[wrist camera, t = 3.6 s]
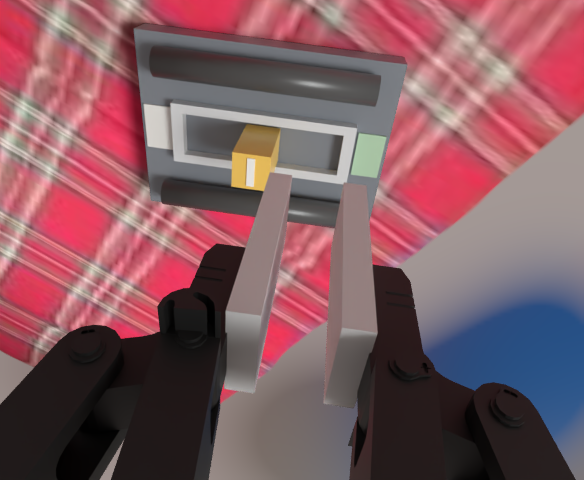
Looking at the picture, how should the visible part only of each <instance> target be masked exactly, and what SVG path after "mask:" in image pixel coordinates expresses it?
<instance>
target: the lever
mask: <svg viewBox="0 0 584 480" xmlns="http://www.w3.org/2000/svg"><path fill="white" fill-rule="evenodd" d="M280 130H281V129H280V128H273V127H266V126H258V125H251V124H246V126H245V128H244V130H243V132H242V134H241V136H240V138H239V140H238V142H237V144H236V146H235V148H234V150H233V152H232V183H231V187H238V188H245V189H252V190H260V191H264V189H265V186H266V183H267V180H268V177H269V173H270V172H273V173H274V171H275V168H276V164H277V161H278V153H279V142H280Z"/></svg>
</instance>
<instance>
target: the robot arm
mask: <svg viewBox="0 0 584 480" xmlns="http://www.w3.org/2000/svg"><path fill="white" fill-rule="evenodd" d="M291 183H292V175H287V174H280V173H273V172H270V173H269V177H268V180H267V183H266V186H265V189H264V192H263V195H262V199H261V202H260V205H259V208H258V211H257V214H256V217H255V220H254V224H253V227H252V230H251V233H250V236H249V239H248V242H247V246H246V248H245V247H238V246H231V245H224V244H216V245H214V246H213V247H212V248H211V249H209V250H208V251H207V252H206V253H205V254H204V257H203V259H202V261H201V263H200V266H199V268H198V270H197V272H196V275H195V278H194V279H193V282H192V284H191V286H190V288H183V289H180V290H177V291H174V292H171V293H170V294H168V295H167V296H166V297H164V298H163V299H162V300H161V302H160V303H159V305H158V306H157V307H158V316H159V325H160V332H157V333H155V334H152V335H147V336H142V337H133V338H125V339H121V338H120V337H119V335H118V334H117V332H116V331H115V330H113V329H111V328H109V327H107V326H101V325H91V326H84V327H81V328H78V329H76V330H74V331H71V332H69V333H68V334H67V335H66V336H64V337H63V338H62V339H61V340H59V341H58V342H57V344H56V345H55V346H54V347H53V348H52V349H51V350H50V351H49V352H48V353H47V354H46V355H45V357H44V358H43V359H42V360H41V361H40V362H39V363H38V364H37V365H36V366H35V367H34V369H33V370H32V371H31V372H30V373H29V374H28V375H27V376H26V377H25V378H24V379H23V381H21V383H20V384H19V385H18V386H17V387H16V388H15V389H14V390H13V391H12V392H11V394H10V395H9V396H8V397H7V398H6V399H5V400H4V401H3V402H2V403H1V404H0V480H100V478H101V476H102V475H103V473H104V471H105V470H106V468H107V466H108V465H109V463H110V461H111V460H112V458H113V457H114V455H115V453H116V451H117V450H118V448H119V447H120V445H121V444H122V442H123V440H124V442H123V446H122V448H121V451H120V454H119V457H118V460H117V463H116V466H115V469H114V472H113V475H112V478H111V480H208V479H209V473H210V467H211V460H212V455H213V448H214V442H215V436H216V430H217V424H218V418H219V411H220V395H221V391H222V387H223V384H224V389H229V390H235V391H242V392H249V393H255V388H256V383H257V378H258V373H259V368H260V363H261V358H262V353H263V348H264V343H265V338H266V333H267V328H268V323H269V318H270V313H271V308H272V303H273V298H274V293H275V288H276V283H277V278H278V273H279V268H280V263H281V258H282V253H283V248H284V243H285V236H286V227H287V218H288V209H289V201H290V192H291ZM414 308H415V305H414V299H413V293H412V288H411V282H410V280H409V279H408V278H407V276H406V275H405V274H404V272H403V271H402V269H400V268H393V267H386V266H379V265H372V252H371V239H370V226H369V213H368V199H367V186H366V185H359V184H352V183H345V182H344V184H343V189H342V194H341V200H340V205H339V210H338V215H337V220H336V226H335V231H334V236H333V241H332V247H331V264H330V284H329V304H328V326H327V344H326V364H325V365H326V366H325V385H324V404H328V405H335V406H342V407H348V408H354V406H355V403H356V400H357V398H358V417H357V420H356V423H355V426H354V429H353V432H352V435H351V438H350V441H349V444H348V446H352V456H351V467H350V479H349V480H576V479H575V478H574V476H573V474H572V472H571V470H570V469H569V467H568V465H567V463H566V461H565V460H564V458H563V456H562V454H561V452H560V451H559V449H558V447H557V445H556V443H555V442H554V440H553V438H552V436H551V434H550V433H549V431H548V429H547V427H546V425H545V424H544V422H543V420H542V418H541V416H540V414H539V413H538V411H537V410H536V408H535V407H534V405H533V404H532V403H531V401H530V400H529V399H528V398H526V397H525V396H524V395H523V394H521V393H520V392H519V391H518V390H516V389H513V388H511V387H509V386H507V385H504V384H499V383H487V384H483V385H481V386H480V387H479V388H478V389H476V391H474V390H472V389H469V388H467V387H464V386H462V385H460V384H457V383H455V382H453V381H451V380H449V379H447V378H445V377H443V376H442V375H441V374H439V373H438V372H437V371H436V370H435V368H434V365H433V363H432V362H431V361H430V360H429V358H428V357H427V356H426V355H425V354H424V353H423V349H422V344H421V338H420V332H419V327H418V321H417V316H416V310H415V309H414ZM224 380H225V382H224Z"/></svg>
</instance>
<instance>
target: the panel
mask: <svg viewBox="0 0 584 480" xmlns="http://www.w3.org/2000/svg"><path fill="white" fill-rule="evenodd" d="M134 38H135V48H136V58H137V68H138V78H139V87H140V97H141V107H142V117H143V127H144V137H145V147H146V157H147V167H148V176H149V186H150V196H151V200H152V201H159V202H162V204H167V205H174V206H181V207H188V208H195V209H202V210H209V211H216V212H223V213H230V214H238V215H245V216H252V217H256V214H257V211H258V208H259V205H260V202H261V199H262V195H263V192H264V191H260V190H252V189H245V188H238V187H231V183H232V152H233V150H234V148H235V146H236V144H237V142H238V140H239V138H240V136H241V134H242V132H243V130H244V128H245V126H246V124H251V125H258V126H266V127H273V128H280V129H281V130H280V142H279V153H278V161H277V164H276V168H275V171H274V173H280V174H287V175H292V183H291V192H290V201H289V209H288V218H287V222H294V223H301V224H308V225H315V226H322V227H329V228H335V226H336V220H337V215H338V210H339V205H340V200H341V194H342V189H343V184H344V182H345V183H352V184H359V185H366V186H367V199H368V213H369V220H370V216H371V212H372V208H373V204H374V200H375V196H376V191H377V187H378V183H379V179H380V175H381V171H382V167H383V163H384V159H385V155H386V151H387V146H388V142H389V138H390V134H391V130H392V126H393V122H394V118H395V114H396V110H397V105H398V101H399V97H400V93H401V89H402V85H403V81H404V77H405V73H406V69H407V62H406V60H405V58H404V57H399V56H391V55H384V54H376V53H368V52H361V51H353V50H346V49H338V48H330V47H323V46H315V45H308V44H300V43H292V42H285V41H277V40H270V39H262V38H254V37H247V36H239V35H232V34H224V33H216V32H209V31H201V30H193V29H186V28H178V27H171V26H163V25H155V24H148V23H144V24H142V25H140V26H138V27H136V28H134Z"/></svg>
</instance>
